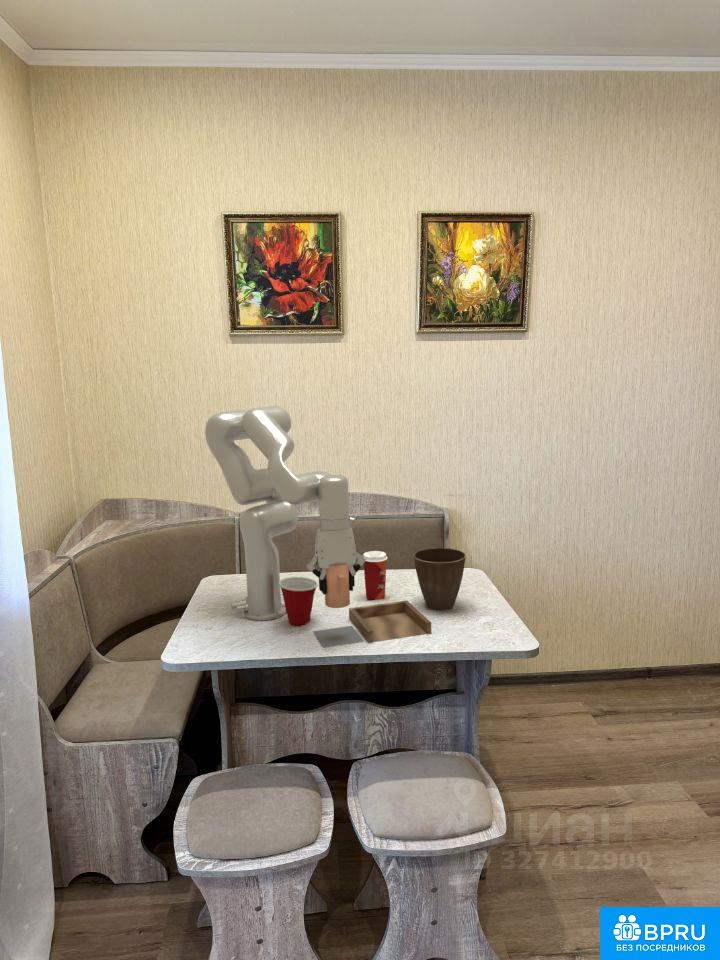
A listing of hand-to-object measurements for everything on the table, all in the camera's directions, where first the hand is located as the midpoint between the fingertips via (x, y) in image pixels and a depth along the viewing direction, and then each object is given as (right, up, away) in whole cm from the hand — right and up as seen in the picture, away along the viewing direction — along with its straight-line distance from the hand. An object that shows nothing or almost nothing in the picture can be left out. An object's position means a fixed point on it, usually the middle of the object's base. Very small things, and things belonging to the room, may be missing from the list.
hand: (337, 590), depth 176 cm
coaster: (0, -13, +2) cm, 13 cm away
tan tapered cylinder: (+1, -4, -1) cm, 4 cm away
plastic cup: (-11, -11, +14) cm, 21 cm away
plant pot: (+29, -9, +23) cm, 38 cm away
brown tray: (+14, -12, +9) cm, 20 cm away
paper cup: (+11, -8, +32) cm, 34 cm away
